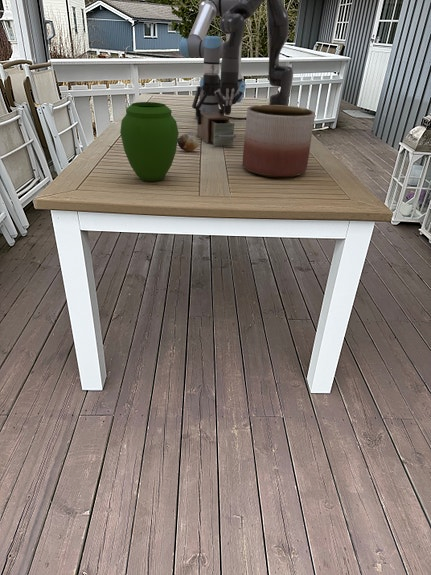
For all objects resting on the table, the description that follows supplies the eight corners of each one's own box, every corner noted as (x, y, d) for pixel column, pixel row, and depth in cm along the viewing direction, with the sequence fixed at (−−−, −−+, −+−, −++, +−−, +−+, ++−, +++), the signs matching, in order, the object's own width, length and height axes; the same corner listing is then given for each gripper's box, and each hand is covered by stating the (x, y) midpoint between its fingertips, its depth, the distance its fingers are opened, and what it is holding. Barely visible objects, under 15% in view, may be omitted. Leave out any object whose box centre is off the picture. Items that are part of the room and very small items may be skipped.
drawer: (237, 147, 187) (238, 126, 182) (218, 148, 185) (219, 126, 180) (221, 137, 204) (222, 117, 199) (203, 137, 202) (204, 117, 197)
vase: (131, 189, 135) (125, 110, 122) (118, 172, 150) (112, 100, 137) (186, 184, 142) (187, 109, 129) (169, 168, 157) (167, 99, 144)
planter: (315, 179, 154) (326, 116, 142) (250, 180, 150) (256, 115, 138) (293, 161, 175) (302, 105, 163) (236, 161, 171) (240, 103, 159)
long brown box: (227, 142, 199) (229, 118, 193) (207, 143, 196) (208, 118, 190) (216, 135, 213) (217, 111, 207) (197, 135, 210) (197, 111, 204)
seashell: (198, 149, 184) (198, 131, 180) (199, 152, 180) (199, 133, 175) (176, 149, 183) (176, 130, 179) (177, 152, 178) (177, 133, 174)
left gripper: (189, 74, 186) (189, 125, 198) (236, 75, 193) (233, 124, 205) (185, 72, 192) (185, 122, 204) (231, 73, 199) (228, 121, 211)
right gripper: (217, 71, 167) (215, 116, 176) (247, 71, 170) (244, 116, 180) (212, 69, 173) (210, 113, 182) (241, 69, 176) (238, 113, 186)
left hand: (209, 123), depth 205 cm, fingers open, 11 cm apart
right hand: (227, 114), depth 181 cm, fingers closed
